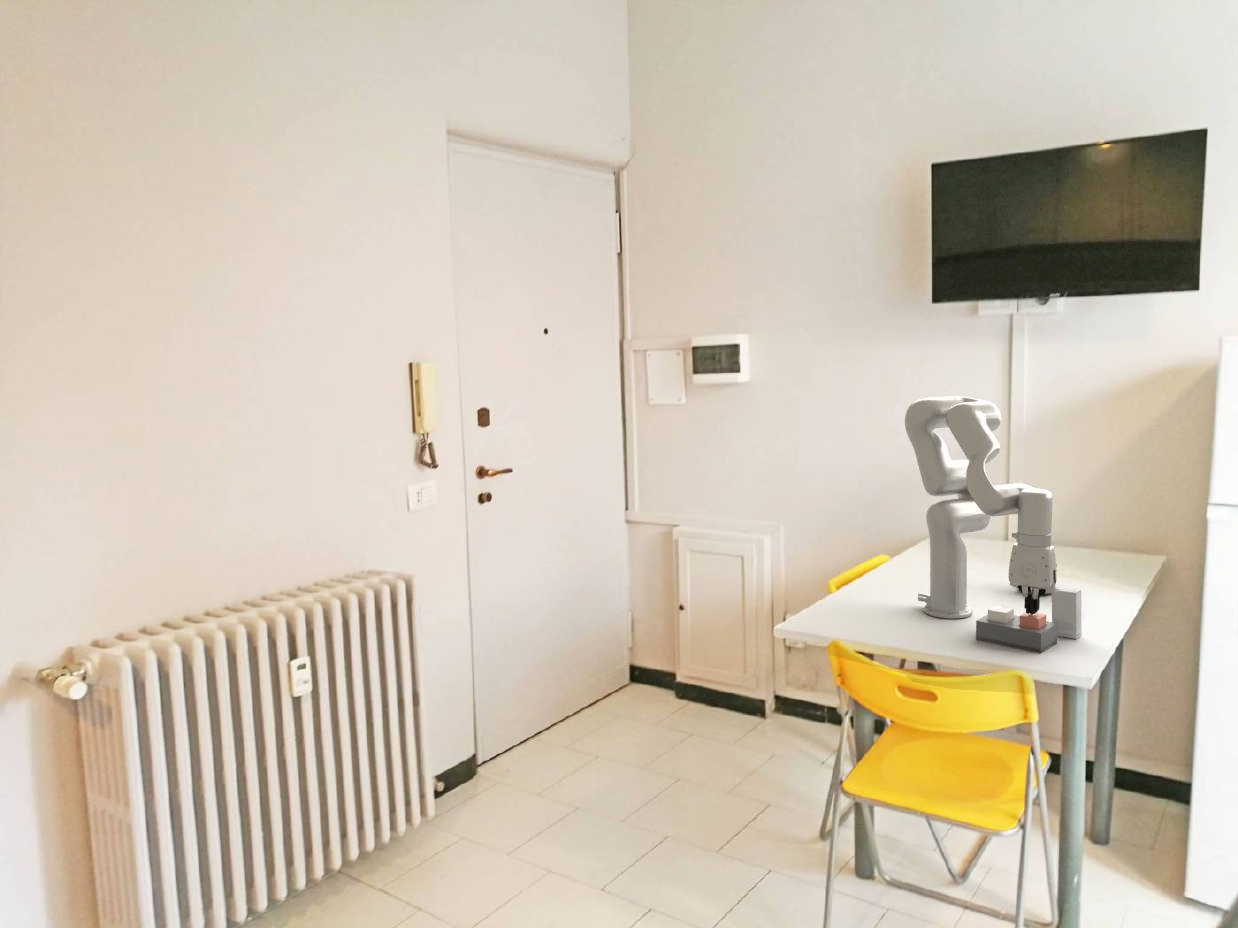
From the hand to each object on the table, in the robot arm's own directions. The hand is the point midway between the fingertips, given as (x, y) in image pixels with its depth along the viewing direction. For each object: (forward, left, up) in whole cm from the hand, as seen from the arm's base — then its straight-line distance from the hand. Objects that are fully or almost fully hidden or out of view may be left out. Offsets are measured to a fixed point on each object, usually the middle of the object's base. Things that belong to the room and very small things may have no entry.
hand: (1031, 612), depth 226 cm
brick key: (0, 0, -5) cm, 5 cm away
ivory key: (-8, 0, -5) cm, 9 cm away
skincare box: (+4, +12, -8) cm, 15 cm away
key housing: (-4, 0, -8) cm, 9 cm away
